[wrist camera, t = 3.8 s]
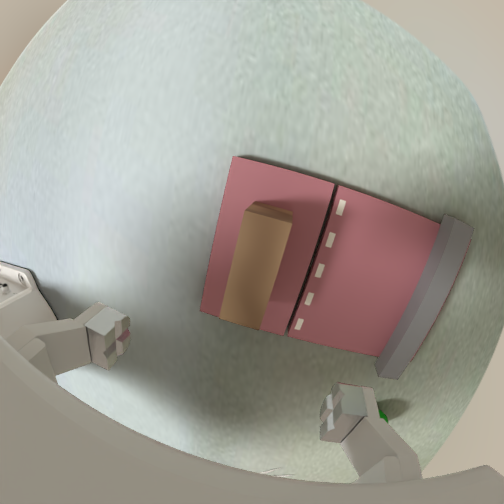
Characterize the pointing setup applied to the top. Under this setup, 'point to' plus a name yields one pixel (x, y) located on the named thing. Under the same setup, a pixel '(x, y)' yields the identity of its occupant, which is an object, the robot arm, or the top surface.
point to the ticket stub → (263, 244)
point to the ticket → (379, 279)
